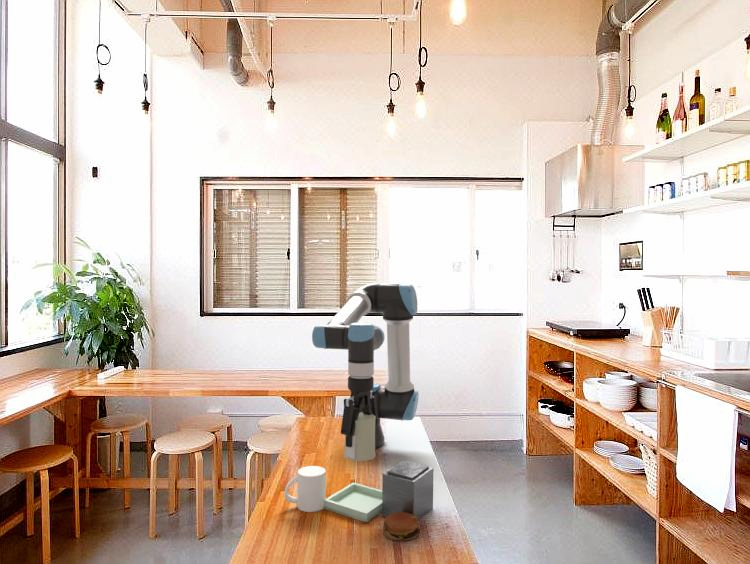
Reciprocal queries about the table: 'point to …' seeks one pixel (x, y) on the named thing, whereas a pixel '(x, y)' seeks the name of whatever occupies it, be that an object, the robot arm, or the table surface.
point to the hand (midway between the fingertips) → (360, 452)
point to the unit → (407, 489)
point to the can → (364, 438)
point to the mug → (309, 489)
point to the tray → (356, 502)
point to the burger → (401, 526)
